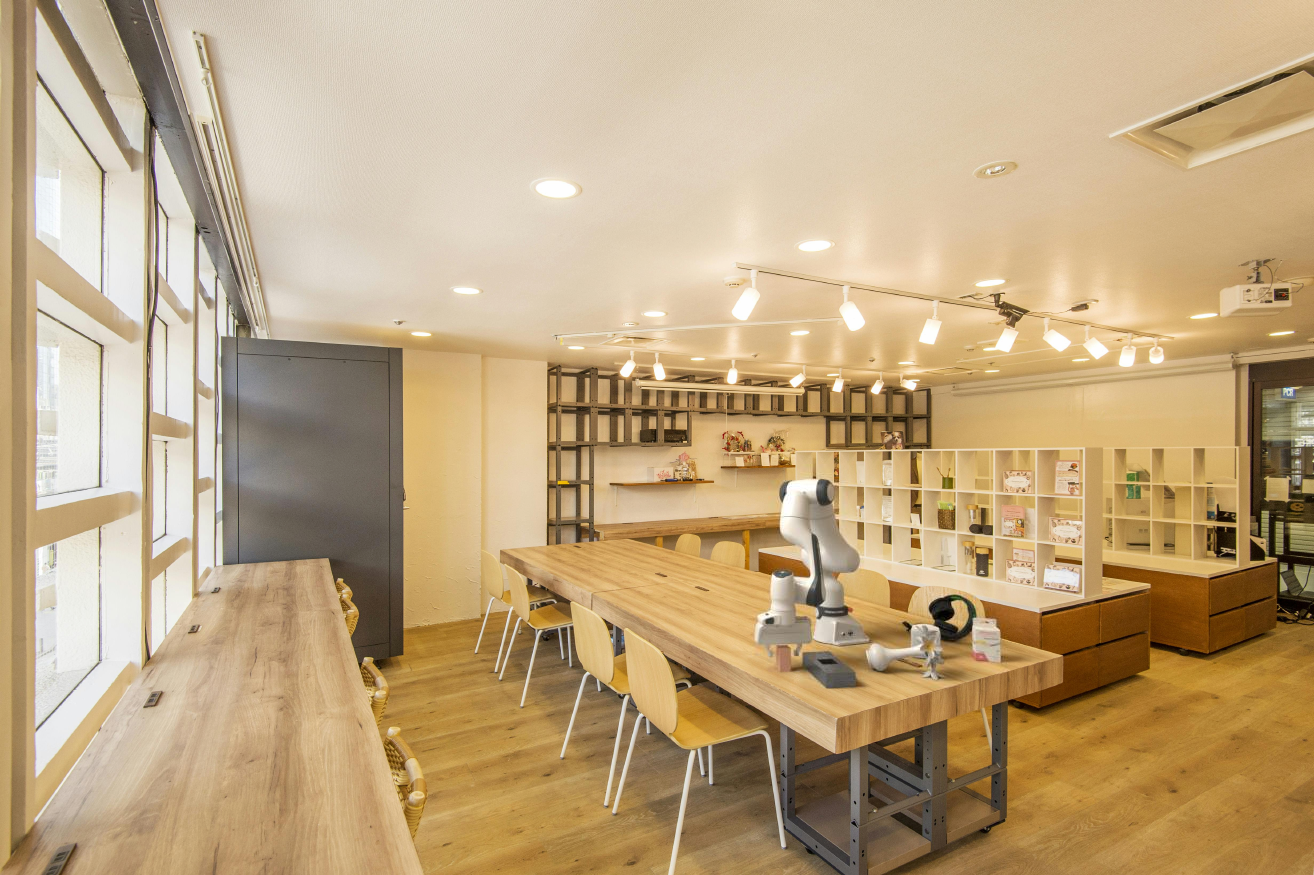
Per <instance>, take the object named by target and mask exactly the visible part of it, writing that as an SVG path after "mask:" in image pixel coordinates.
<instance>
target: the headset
mask: <svg viewBox="0 0 1314 875" xmlns="http://www.w3.org/2000/svg"><path fill="white" fill-rule="evenodd" d="M956 601H961V602H963V603H964V604H965V605H966V610H967V614H968V617H967V621H966V623H965V624H964V626H963V627H962V628H961V629H959V627H958V626H957V625H955V624H952V623H949V622H947V621H950V620H952V619H953V617H954V616H955V612H956V611H955V609H954V607H953V605H952V602H956ZM928 612H929V613H930V615H931V618H932V620H934V621H933V626H936V627H938V628H939V631H940V639H941V640H944V641H948V642H949V641H959V640H961V639H964V638H965V637H967V636H969V635H970V634H971V633H972V626H973V618H978V617H977V610H976V607H975V606H974V603H973V602H972V601H971V600H970V599H968V598H966V597H964V596H962V595H960V594H948V595H945V596H943V597H937V598H936V599H935V598H934V600H933V601H931V602H930V603H929V605H928ZM917 624H924V623H923V622H919V623H914V624H913V625H917ZM901 625H903V626H904V627H905V628H906V632H907V633H909V634H910V635H911V629H912V624H911V623H909V622H908V621H906V620H905V621H902V622H901Z"/></svg>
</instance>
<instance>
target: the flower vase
mask: <svg viewBox="0 0 1314 875" xmlns="http://www.w3.org/2000/svg"><path fill="white" fill-rule="evenodd" d="M916 627H917V628H918V629H919V630H920V631H921V632H922V633H923V636H922V638H921V637H916V641H917V642H919V643H921V644H920V645H917V646H914V647H911V646H910V647H904V648H888V647H885V646H883V645H882V644H880V643H875V642H873V643H872V644H871V645H870V646H869V647H868V649H867V648H866V649H865V655H866V659H867V662H868V666H869V667H870V668H873V669H874V670H876V671H878V672H883V671H885V670H886V669H887V667H888V666H889V665H890V664H891V663H893V662H894V661H897V660H901V659H905V658H913V657H912V656H923V657H926V656H927V657H928V658H927V659H926V658H925V660H924V663H925V666H926V668H927V669H928V668H929V667H931V669H928V670H926V671H924V672H923V671H922V675H921V677H922V678H928V677H931V679H933V680H935V681H937V680H939V678H944V679H945V678H946V676H945V675H943V674H941V673H939V672H938V671H937V670H936V669H937V664H938V665H945V661H946V660H944V659H943V658H942V656H943V655H944V653H943V647H942V646H941V645H940V646H941V647H940V646H938V645H934V644H935V643H936V642H937V641H938V640H939V639H938V638H937V636H933V637H932V635H937V634H935V633H936V632H938V631H936V630H930V631H929V632H928V628H927V627H926V626H925V625H922V628H920V627H918V626H916ZM930 635H931V638H930V639H929V636H930ZM927 651H928V652H927ZM936 651H937V652H936ZM939 656H941V658H939Z"/></svg>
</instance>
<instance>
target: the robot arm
mask: <svg viewBox="0 0 1314 875" xmlns="http://www.w3.org/2000/svg"><path fill="white" fill-rule="evenodd" d="M778 491H779V492H778V493H779V500H780V501H781V503H782V504H781V511H780V517H779V532H780V534H781V535H782V537H783V539H785V540H786V541H787V542H789V543H791V544H793V545H795V546H797V547H799V548H802V549H801V550H800V551H801V552H800V560H801V562H802V563H803V565H804V566H805V567H806V568H807V569H808V570H809V572H810V576H808V577H805V576H802V577H801V576H794V572H793V571H792V570H789V569H777V570H775V571H773V572H772V574H771V578H770V590H769V591H770V593H769V594H770V595H769V596H770V599H771V604H770V610H768V611H765V612H763V613H760V614H757V616H756V618H757V621H758V622H756V624H755V629H754V642H755V643H756V644H757V645H758V646H764V648H765V650H766V651H767V657H768V658H774V652H773V650H770V648H771V646H773V645H775V646H776V645H796V646H797V647H796V649H793V656H794V657H799V656H800V651H801V650H802V648H803V645H804V644H811V643H812V642H813V640H814V641H817V642H820V643H824V644H829V645H834V646H840V647H841V646H849V645H850V646H851V645H857V644H866V643H870V642H871V640H870V637H869V636H867V634H865V633H864V628H863V626H862V624H861V623H860V622H859V621H858V620H857V619H856V618H854V617H853V616H851V615H850V614H849V613H851V614H852V613H853V608H852V607H850V606H848V605H846V604H845V588H844V585H843V583H841V581H839V580H838V579H837V578H836V576H835V575H834V573H838V574H839V573H840V574H849V573H855V572H856V571H857V570H858V568H859V566H860V564H861V558H860V554H859V551H857V549H855V548H854V547H852V546H851V545H850V544H849V543H848V542H847V541H846V539H845V538H844V536H843V535H842V533H841V531H840V529H839V527H838V522H837V518H836V513H835V509H834V505H833V502H834V500H835V497H836V490H835V486H834V484H833V483H832V481H830V480H829V479H825V478H805V479H797V480H787V481H784V482H782V484H781V485H780V488H779V490H778ZM795 604H796V605H805V606H809V607H814V608H815V609H814V614H815V626H814V631H813V635H812V619H811V618H810V617H808V616H806V615H804V616H801V615H800V616H797V615H796V614H797V613H796V612H797V611H796V610H797V607H796V605H795Z"/></svg>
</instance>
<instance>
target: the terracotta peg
mask: <svg viewBox="0 0 1314 875" xmlns="http://www.w3.org/2000/svg"><path fill="white" fill-rule="evenodd" d="M775 648H776V649H775V653H776V654H775V657H776V661H775V662H776V666H775V668H776V669H777V670H778V672H779V673H782V672H792V658H791V657H792V656H791V654H792V648H791V647H790V646H789V644H779V645H775Z"/></svg>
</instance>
